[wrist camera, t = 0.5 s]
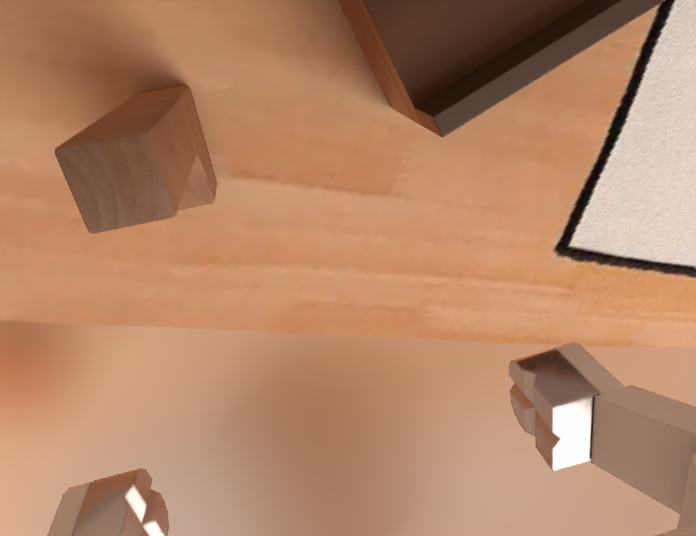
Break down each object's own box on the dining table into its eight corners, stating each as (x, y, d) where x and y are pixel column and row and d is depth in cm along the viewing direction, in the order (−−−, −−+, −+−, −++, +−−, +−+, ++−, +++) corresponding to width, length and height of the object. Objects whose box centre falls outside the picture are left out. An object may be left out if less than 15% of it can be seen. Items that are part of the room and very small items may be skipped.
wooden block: (134, 93, 30) (49, 149, 17) (189, 83, 30) (148, 130, 17) (168, 195, 33) (120, 311, 20) (218, 185, 33) (202, 292, 20)
